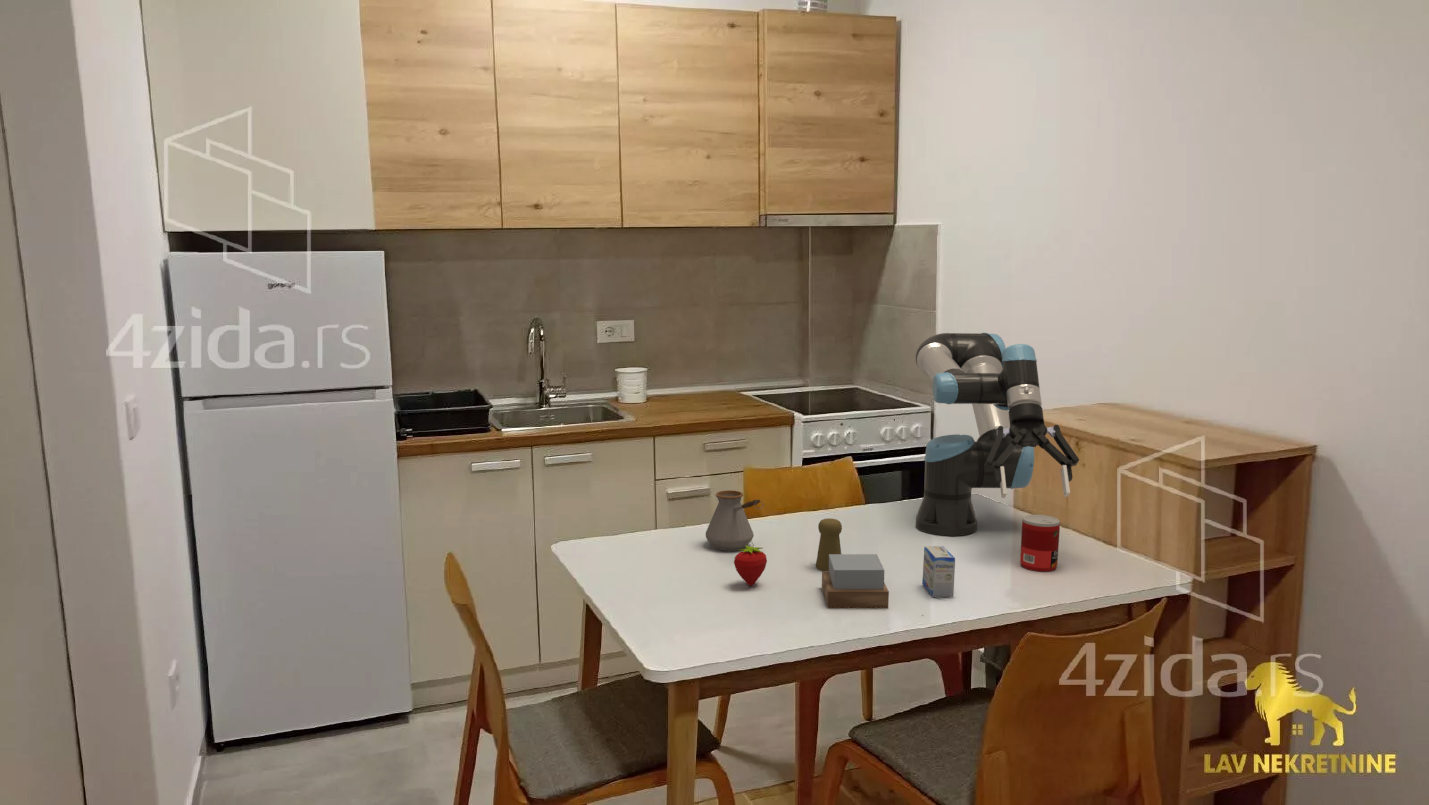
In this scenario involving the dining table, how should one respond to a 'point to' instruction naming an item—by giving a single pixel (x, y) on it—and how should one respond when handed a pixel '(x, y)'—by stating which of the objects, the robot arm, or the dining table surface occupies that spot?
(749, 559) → the strawberry
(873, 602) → the walnut slab
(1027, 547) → the canned food
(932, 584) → the medicine box
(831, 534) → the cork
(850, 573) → the slate slab
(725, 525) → the coffee pot
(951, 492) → the robot arm
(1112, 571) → the dining table surface
